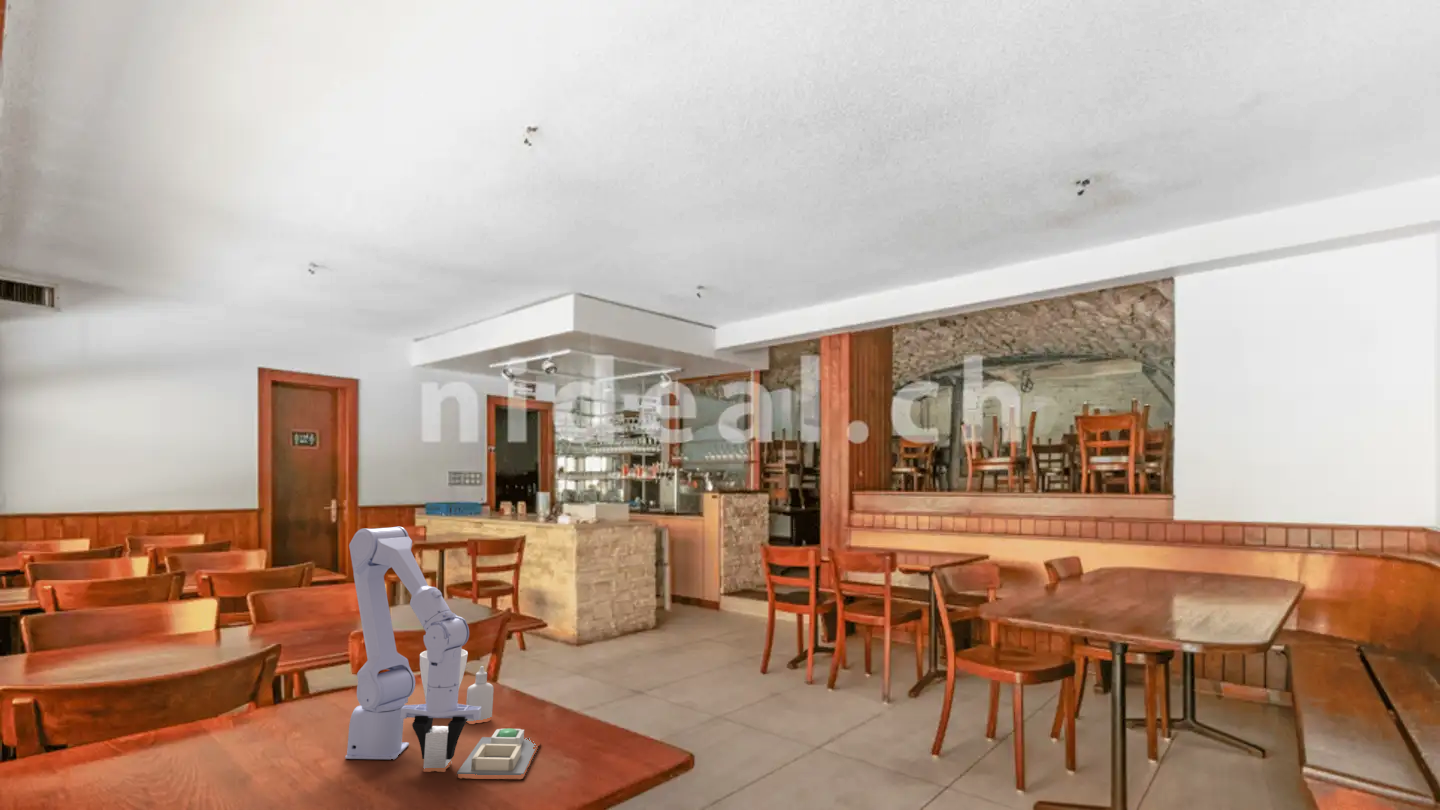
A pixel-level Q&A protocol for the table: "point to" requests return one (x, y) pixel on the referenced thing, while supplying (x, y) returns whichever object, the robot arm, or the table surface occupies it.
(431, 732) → the block
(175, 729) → the table surface
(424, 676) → the cup
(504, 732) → the button
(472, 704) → the eye dropper bottle
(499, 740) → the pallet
